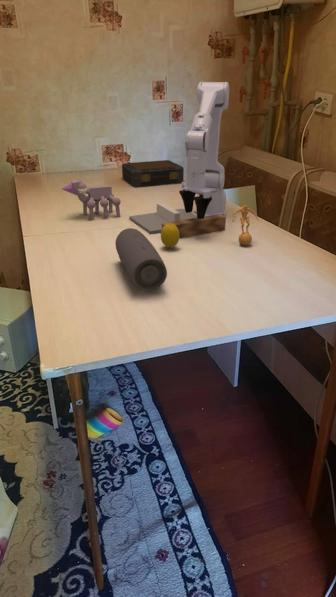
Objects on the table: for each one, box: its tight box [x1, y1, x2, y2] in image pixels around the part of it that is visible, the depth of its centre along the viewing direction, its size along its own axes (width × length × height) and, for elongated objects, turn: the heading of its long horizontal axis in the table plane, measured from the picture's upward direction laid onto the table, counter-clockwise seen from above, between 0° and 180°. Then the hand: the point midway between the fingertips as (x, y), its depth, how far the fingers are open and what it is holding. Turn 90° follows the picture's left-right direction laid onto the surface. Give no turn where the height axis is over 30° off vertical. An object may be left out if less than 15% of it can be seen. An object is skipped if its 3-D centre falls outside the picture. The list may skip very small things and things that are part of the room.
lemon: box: [160, 223, 180, 249], centre depth 130 cm, size 6×6×8 cm
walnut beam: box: [162, 214, 227, 240], centre depth 142 cm, size 22×4×5 cm, turn 118°
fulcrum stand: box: [128, 202, 197, 235], centre depth 153 cm, size 22×18×5 cm
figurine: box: [231, 204, 259, 247], centre depth 132 cm, size 8×6×12 cm
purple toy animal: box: [61, 179, 122, 221], centre depth 157 cm, size 20×11×14 cm, turn 113°
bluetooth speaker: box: [115, 227, 168, 292], centre depth 112 cm, size 23×9×10 cm, turn 17°
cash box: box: [121, 159, 185, 188], centre depth 208 cm, size 25×20×8 cm
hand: (194, 215), depth 140 cm, fingers open, 7 cm apart
